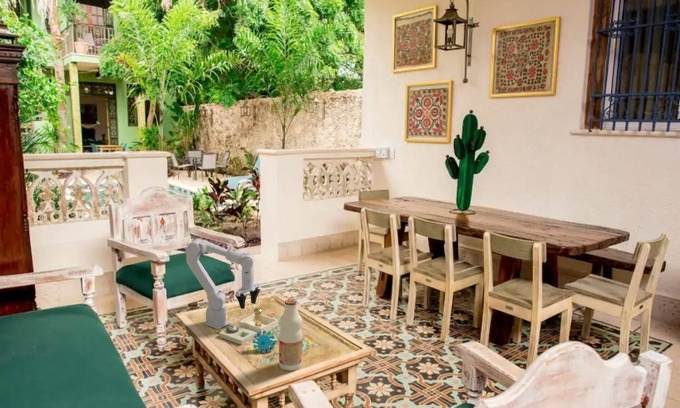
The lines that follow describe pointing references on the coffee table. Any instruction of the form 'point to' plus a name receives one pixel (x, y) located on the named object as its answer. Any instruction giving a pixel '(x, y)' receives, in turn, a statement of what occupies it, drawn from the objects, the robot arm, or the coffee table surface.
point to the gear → (264, 342)
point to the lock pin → (258, 317)
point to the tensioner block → (237, 334)
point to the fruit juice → (290, 337)
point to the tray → (266, 324)
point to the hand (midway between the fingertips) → (247, 305)
